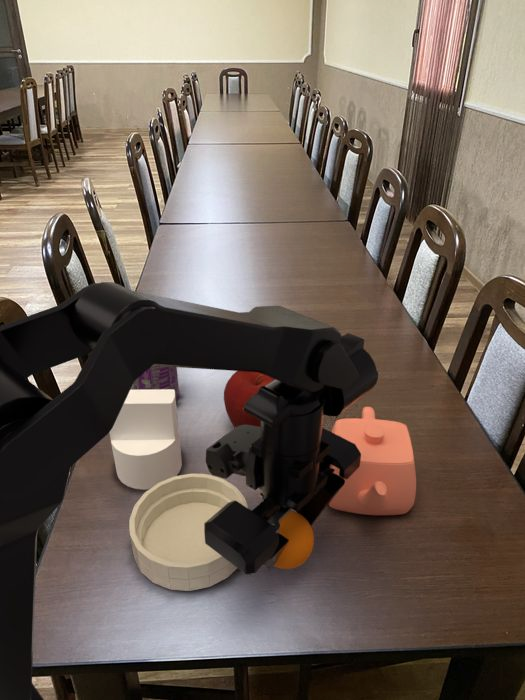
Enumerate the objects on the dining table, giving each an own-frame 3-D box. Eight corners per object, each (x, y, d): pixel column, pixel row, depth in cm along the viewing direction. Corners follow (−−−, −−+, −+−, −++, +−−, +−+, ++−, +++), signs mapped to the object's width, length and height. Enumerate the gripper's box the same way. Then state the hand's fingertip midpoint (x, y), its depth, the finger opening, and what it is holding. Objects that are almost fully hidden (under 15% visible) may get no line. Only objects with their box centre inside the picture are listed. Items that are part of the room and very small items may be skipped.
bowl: (189, 618, 56) (187, 591, 54) (110, 547, 63) (104, 521, 61) (272, 536, 65) (272, 510, 62) (194, 483, 72) (192, 458, 70)
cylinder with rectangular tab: (109, 489, 71) (95, 418, 65) (123, 444, 79) (112, 376, 73) (177, 489, 71) (170, 418, 65) (185, 443, 79) (179, 376, 73)
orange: (290, 591, 56) (292, 553, 53) (246, 559, 59) (246, 522, 56) (323, 554, 60) (326, 517, 57) (280, 526, 63) (282, 489, 60)
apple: (225, 450, 78) (223, 394, 73) (224, 410, 86) (222, 357, 81) (290, 447, 79) (293, 391, 73) (283, 407, 87) (284, 354, 81)
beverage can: (144, 385, 92) (135, 323, 85) (184, 389, 91) (179, 326, 85) (129, 410, 86) (119, 346, 79) (172, 414, 85) (166, 350, 79)
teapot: (401, 451, 78) (412, 393, 72) (421, 556, 63) (437, 492, 57) (322, 446, 79) (327, 388, 73) (322, 548, 63) (328, 484, 58)
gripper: (284, 365, 61) (281, 467, 69) (157, 449, 49) (171, 561, 57) (370, 403, 55) (355, 510, 63) (250, 511, 43) (250, 627, 51)
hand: (286, 546), depth 58 cm, fingers closed on orange, 6 cm apart
